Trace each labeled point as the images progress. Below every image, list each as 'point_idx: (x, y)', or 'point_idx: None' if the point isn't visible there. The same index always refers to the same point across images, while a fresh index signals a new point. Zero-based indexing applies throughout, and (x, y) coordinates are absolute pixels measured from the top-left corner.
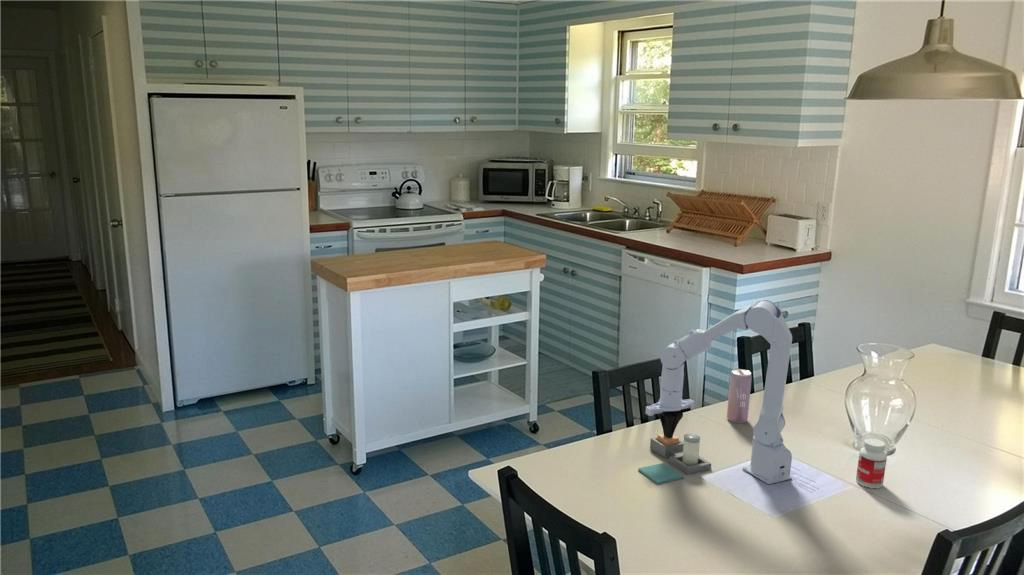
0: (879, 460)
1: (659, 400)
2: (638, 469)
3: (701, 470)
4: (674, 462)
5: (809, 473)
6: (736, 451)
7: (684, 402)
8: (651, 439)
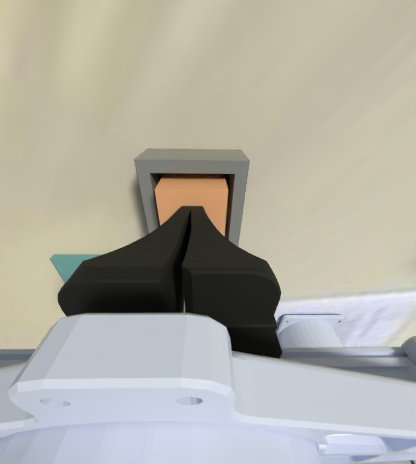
0: None
1: (19, 407)
2: (52, 257)
3: None
4: None
5: (359, 345)
6: (363, 263)
7: (376, 446)
8: (137, 164)
